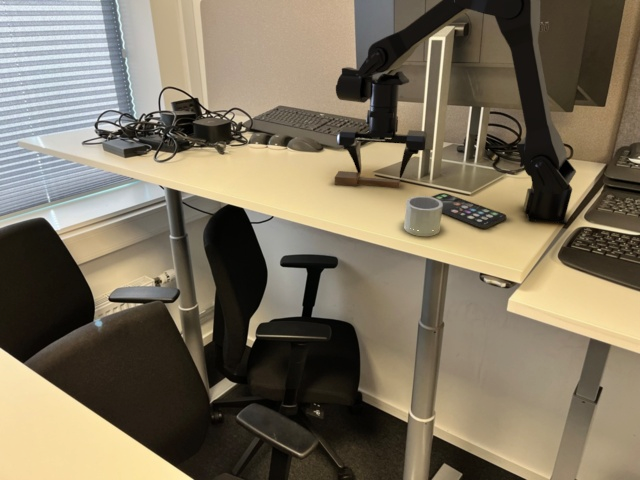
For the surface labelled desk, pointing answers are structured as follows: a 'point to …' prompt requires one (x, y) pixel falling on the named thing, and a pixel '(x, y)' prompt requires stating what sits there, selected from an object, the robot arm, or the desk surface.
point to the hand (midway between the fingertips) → (380, 175)
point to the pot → (423, 215)
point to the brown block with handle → (363, 180)
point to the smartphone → (469, 211)
